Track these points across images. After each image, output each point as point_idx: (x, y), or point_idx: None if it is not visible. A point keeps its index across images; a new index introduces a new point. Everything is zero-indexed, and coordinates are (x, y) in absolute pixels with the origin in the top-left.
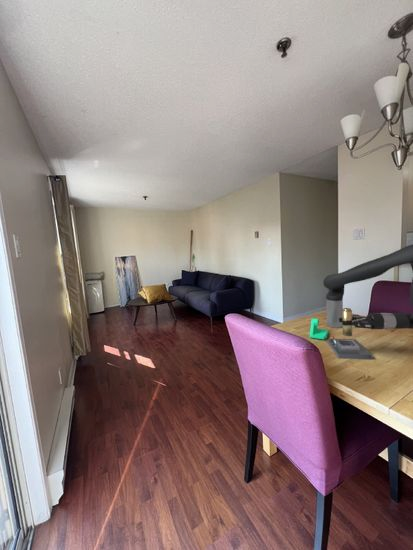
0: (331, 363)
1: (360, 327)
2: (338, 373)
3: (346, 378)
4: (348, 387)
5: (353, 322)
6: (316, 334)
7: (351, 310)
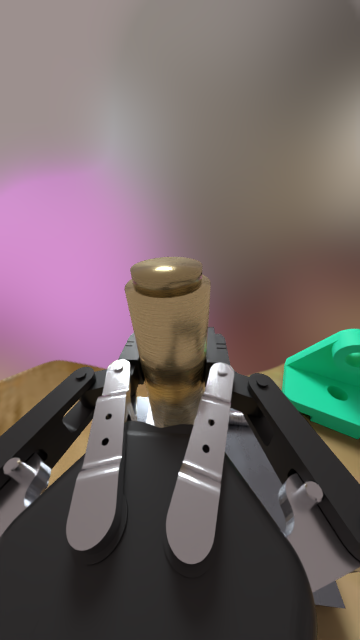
0: None
1: (64, 422)
2: (66, 377)
3: (39, 385)
4: (12, 377)
5: (106, 369)
6: (300, 377)
7: (159, 300)
